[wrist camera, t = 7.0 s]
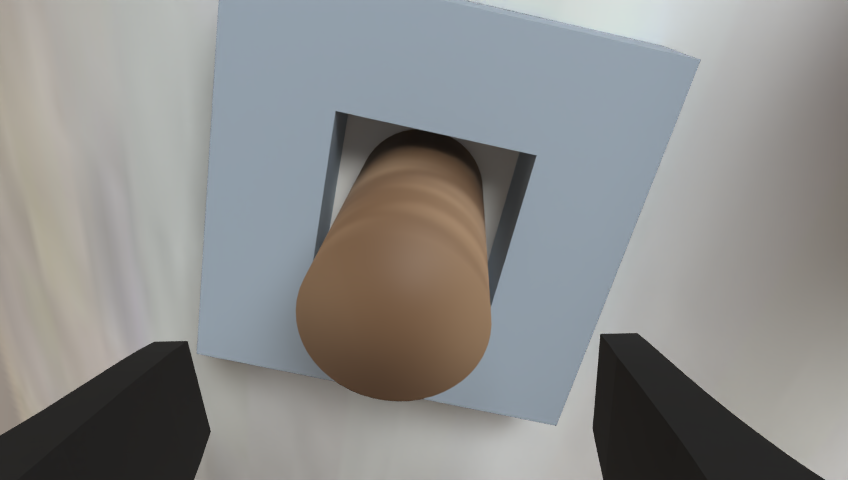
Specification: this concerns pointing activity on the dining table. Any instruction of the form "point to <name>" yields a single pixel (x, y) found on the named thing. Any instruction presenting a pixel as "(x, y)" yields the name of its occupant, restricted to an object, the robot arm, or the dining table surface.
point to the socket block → (448, 115)
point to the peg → (402, 274)
